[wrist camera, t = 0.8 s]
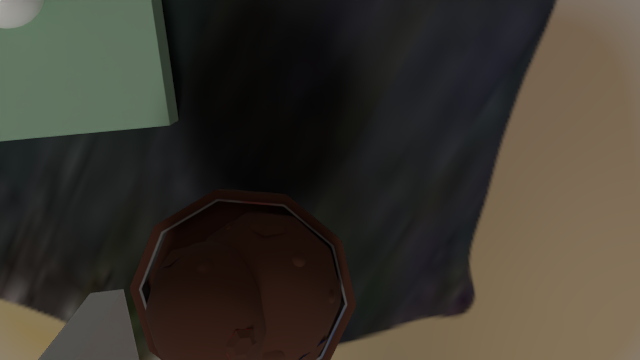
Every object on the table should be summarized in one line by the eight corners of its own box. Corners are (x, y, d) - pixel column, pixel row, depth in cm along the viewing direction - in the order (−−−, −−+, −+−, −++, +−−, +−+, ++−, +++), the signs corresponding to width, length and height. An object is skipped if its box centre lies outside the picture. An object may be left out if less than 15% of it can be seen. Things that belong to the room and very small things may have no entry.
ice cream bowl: (201, 330, 40) (142, 497, 25) (154, 172, 37) (59, 255, 23) (355, 296, 40) (386, 444, 25) (318, 135, 37) (330, 194, 22)
